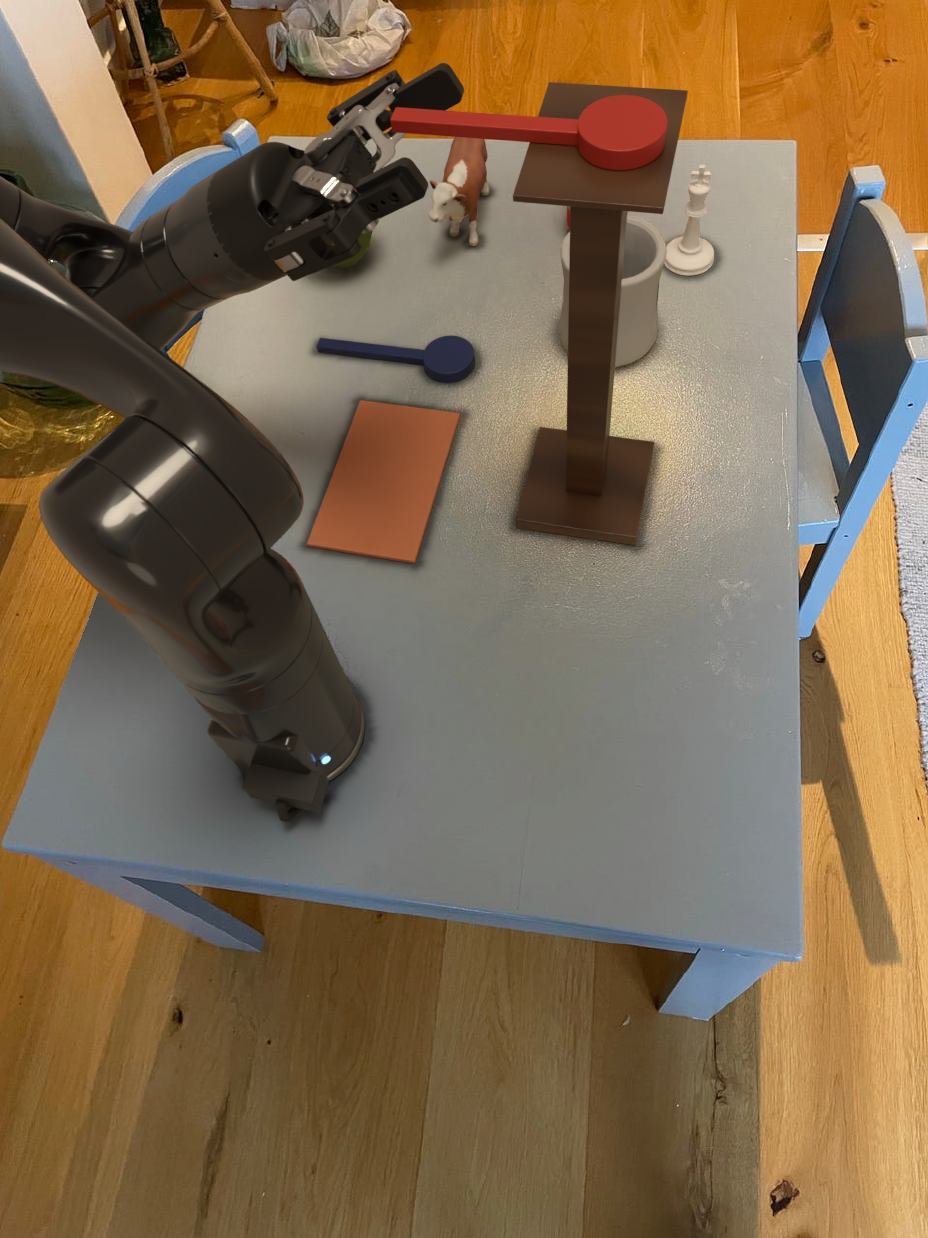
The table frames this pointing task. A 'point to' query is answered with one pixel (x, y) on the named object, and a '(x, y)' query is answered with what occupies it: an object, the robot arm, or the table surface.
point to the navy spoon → (414, 355)
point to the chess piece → (692, 232)
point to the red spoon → (559, 129)
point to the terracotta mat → (385, 481)
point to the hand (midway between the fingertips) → (437, 125)
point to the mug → (629, 290)
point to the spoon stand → (592, 325)
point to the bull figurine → (461, 185)
